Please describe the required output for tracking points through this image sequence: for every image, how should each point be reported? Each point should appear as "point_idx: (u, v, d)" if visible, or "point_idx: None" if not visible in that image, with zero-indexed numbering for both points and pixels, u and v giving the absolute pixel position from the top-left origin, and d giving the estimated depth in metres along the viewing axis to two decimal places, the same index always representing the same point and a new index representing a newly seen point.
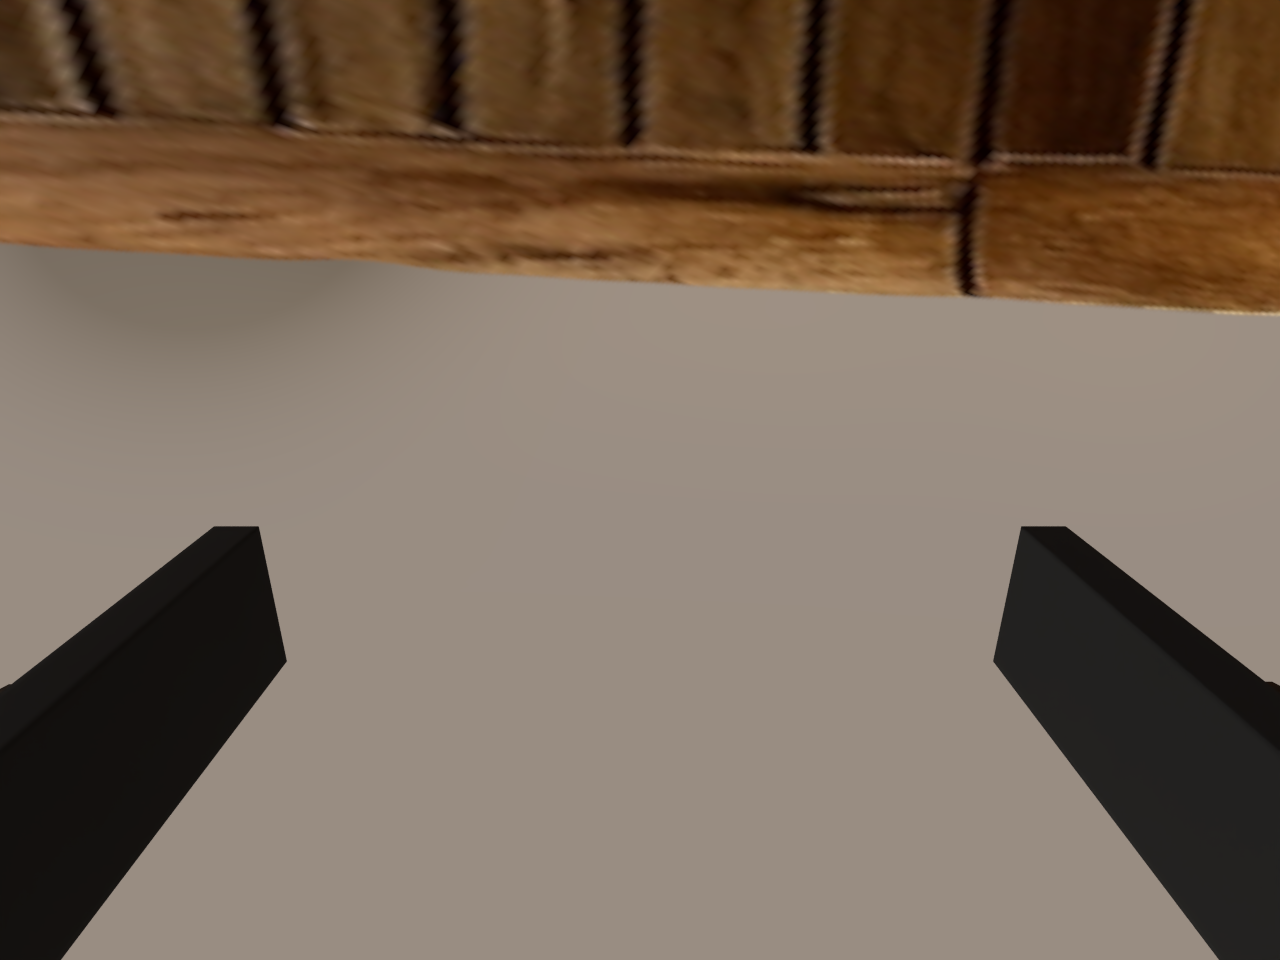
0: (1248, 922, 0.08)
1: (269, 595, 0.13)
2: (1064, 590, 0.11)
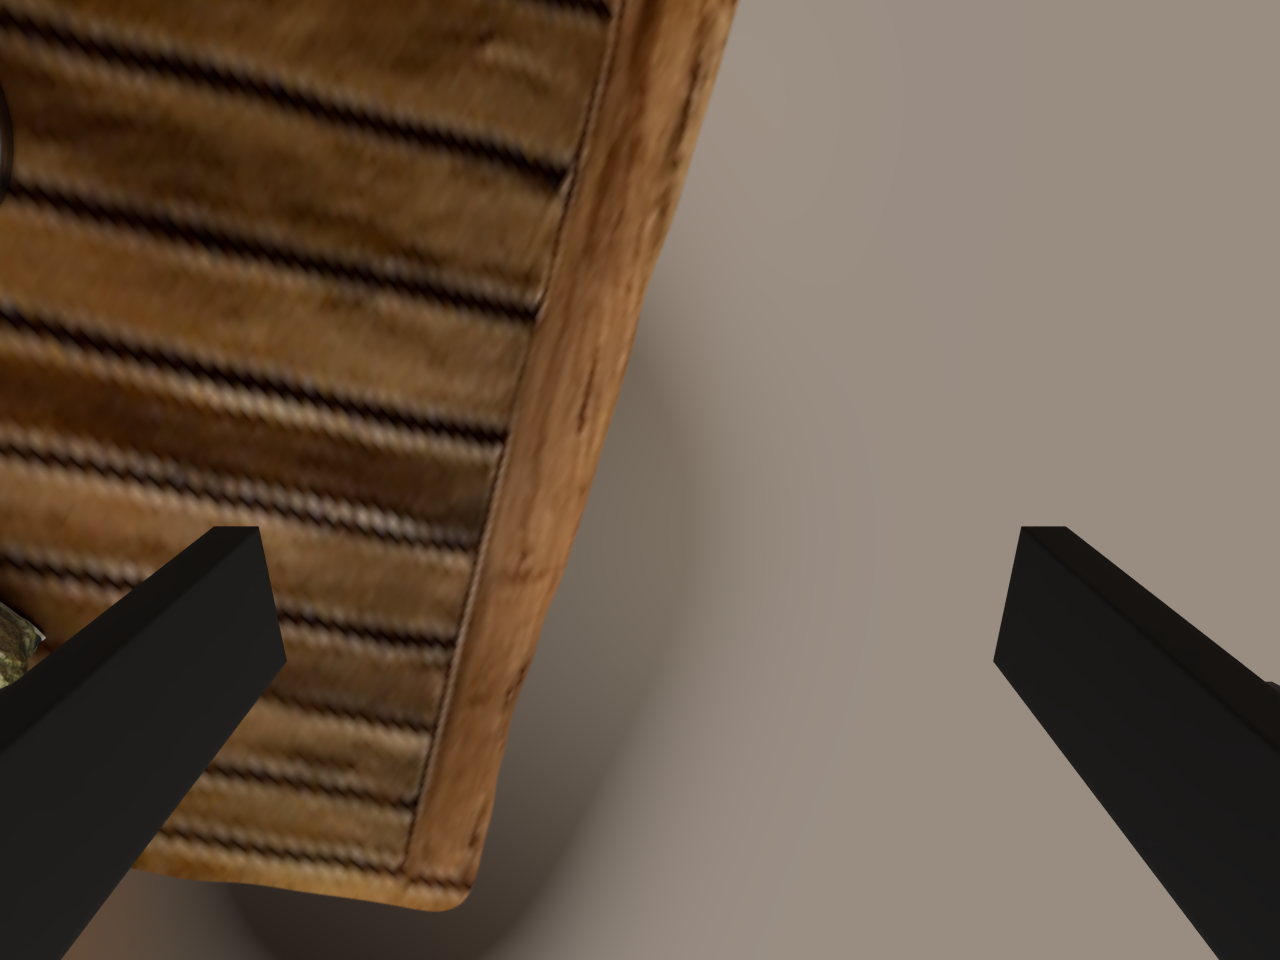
0: (1248, 922, 0.08)
1: (269, 595, 0.13)
2: (1064, 590, 0.11)
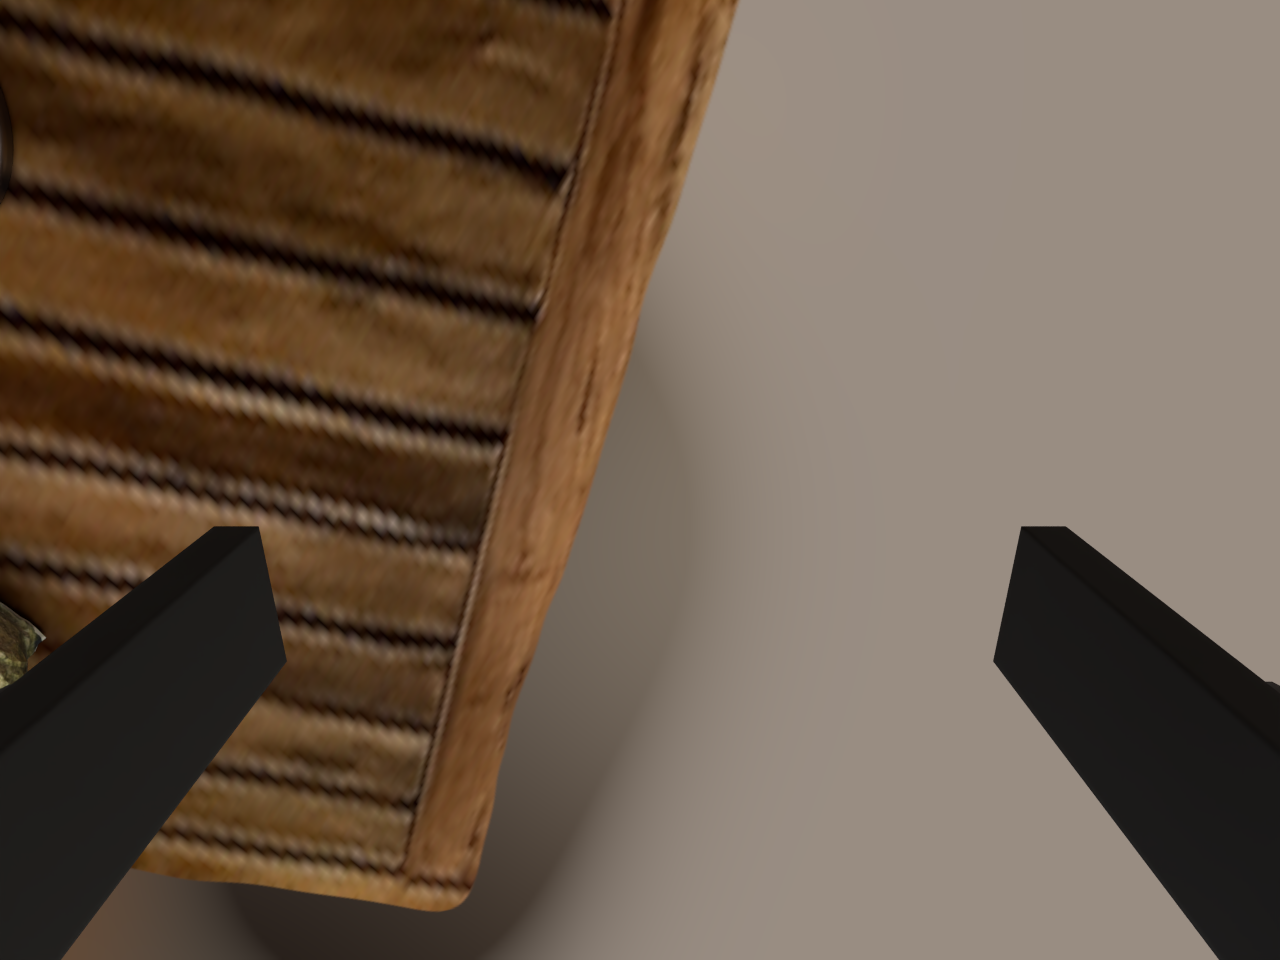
0: (1248, 922, 0.08)
1: (269, 595, 0.13)
2: (1064, 590, 0.11)
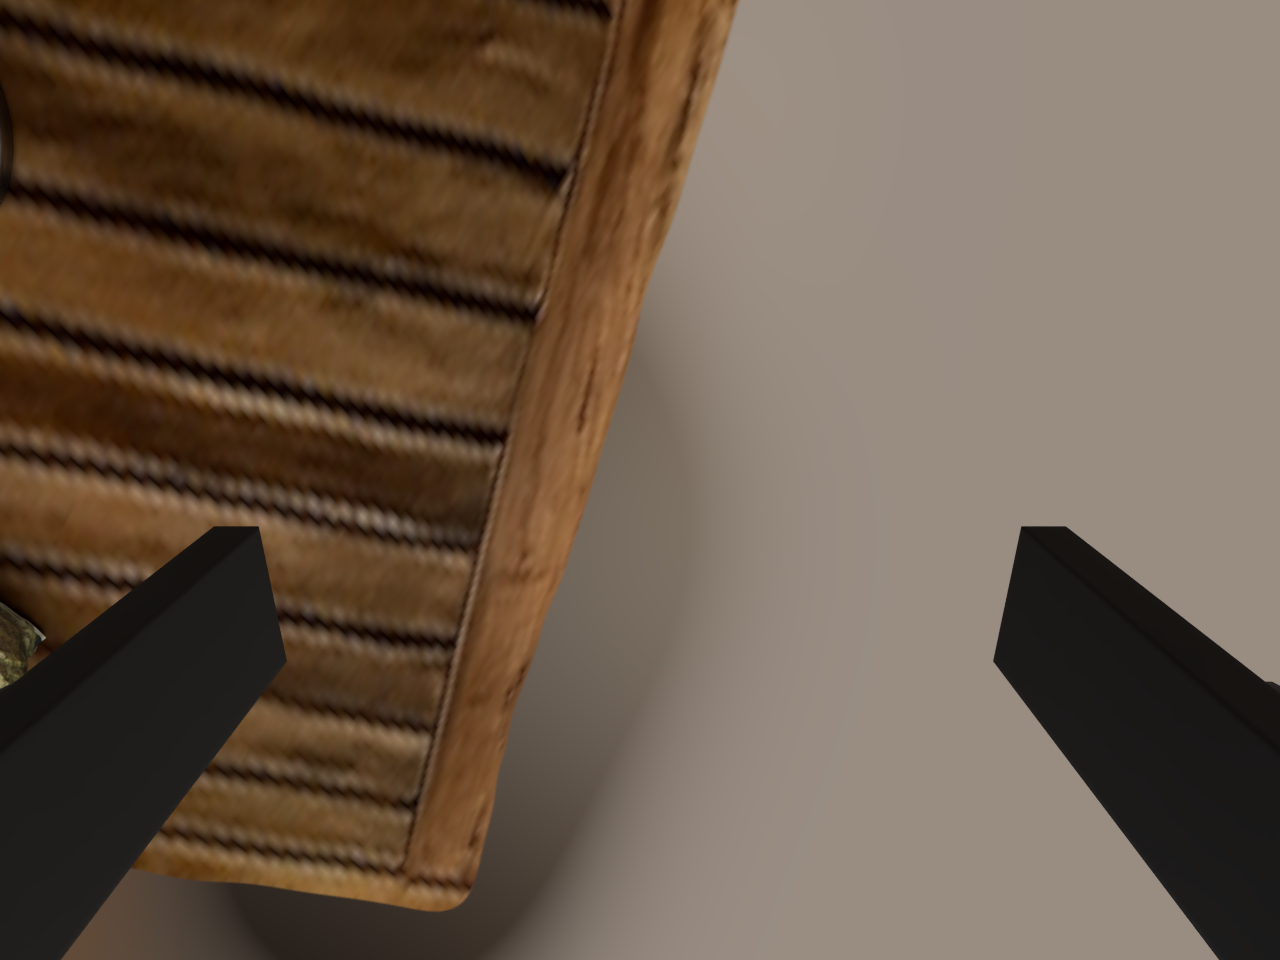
0: (1248, 922, 0.08)
1: (269, 595, 0.13)
2: (1064, 590, 0.11)
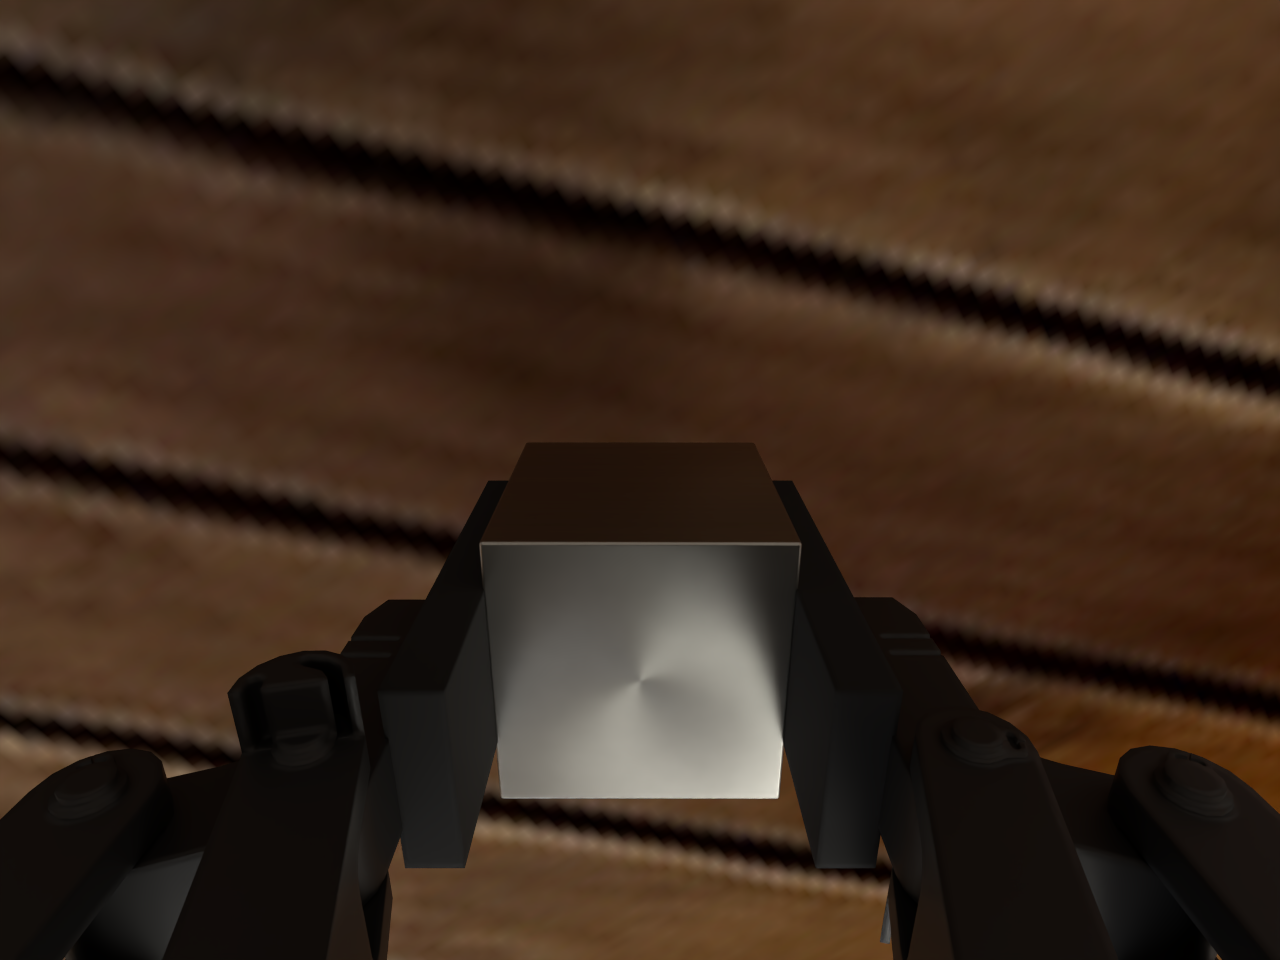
0: (806, 774, 0.10)
1: None
2: None
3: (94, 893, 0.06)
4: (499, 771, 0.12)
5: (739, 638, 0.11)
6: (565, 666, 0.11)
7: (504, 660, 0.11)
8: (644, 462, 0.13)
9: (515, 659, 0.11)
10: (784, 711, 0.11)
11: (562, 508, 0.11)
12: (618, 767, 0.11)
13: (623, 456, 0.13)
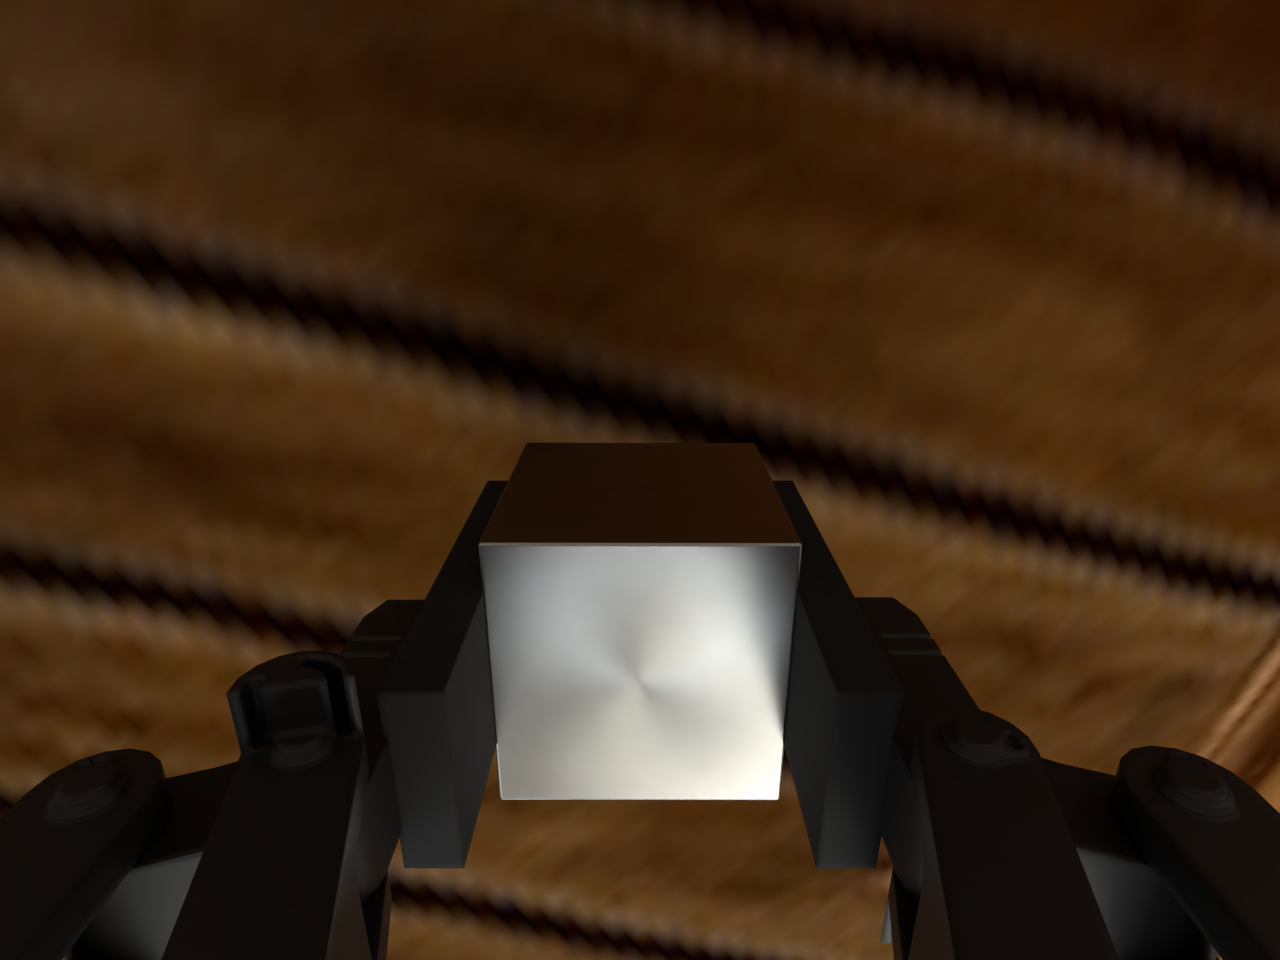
0: (806, 774, 0.10)
1: None
2: None
3: (93, 893, 0.06)
4: (499, 772, 0.11)
5: (739, 639, 0.11)
6: (565, 667, 0.11)
7: (503, 662, 0.11)
8: (644, 462, 0.13)
9: (515, 660, 0.11)
10: (784, 713, 0.11)
11: (562, 508, 0.11)
12: (618, 768, 0.11)
13: (623, 457, 0.13)
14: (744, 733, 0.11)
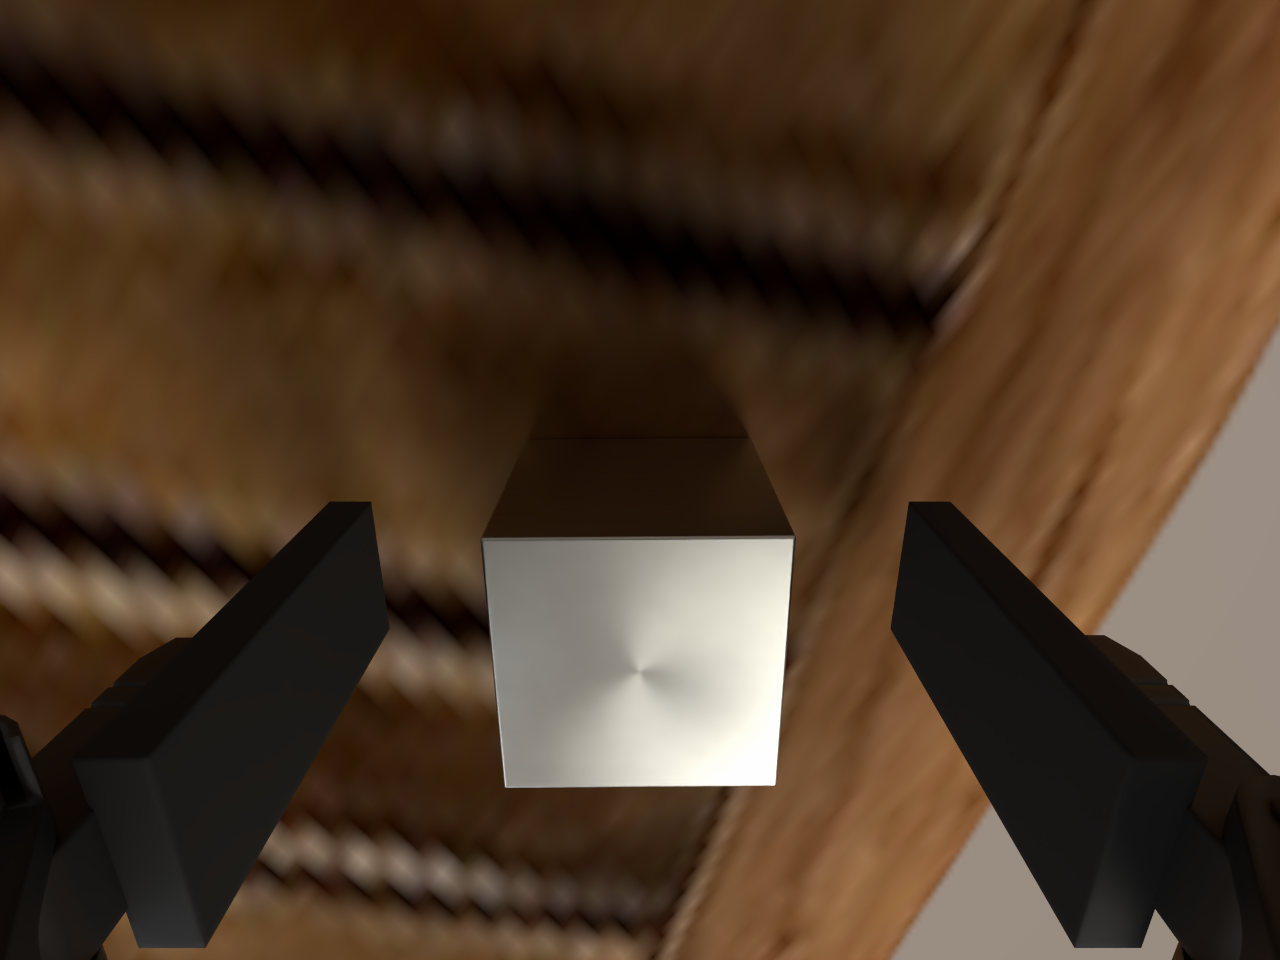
0: (1050, 839, 0.09)
1: (377, 566, 0.14)
2: (936, 558, 0.12)
3: None
4: (503, 761, 0.12)
5: (736, 630, 0.11)
6: (566, 658, 0.11)
7: (506, 653, 0.11)
8: (642, 458, 0.13)
9: (518, 652, 0.11)
10: (780, 701, 0.11)
11: (561, 504, 0.11)
12: (619, 756, 0.12)
13: (621, 452, 0.14)
14: (741, 721, 0.12)
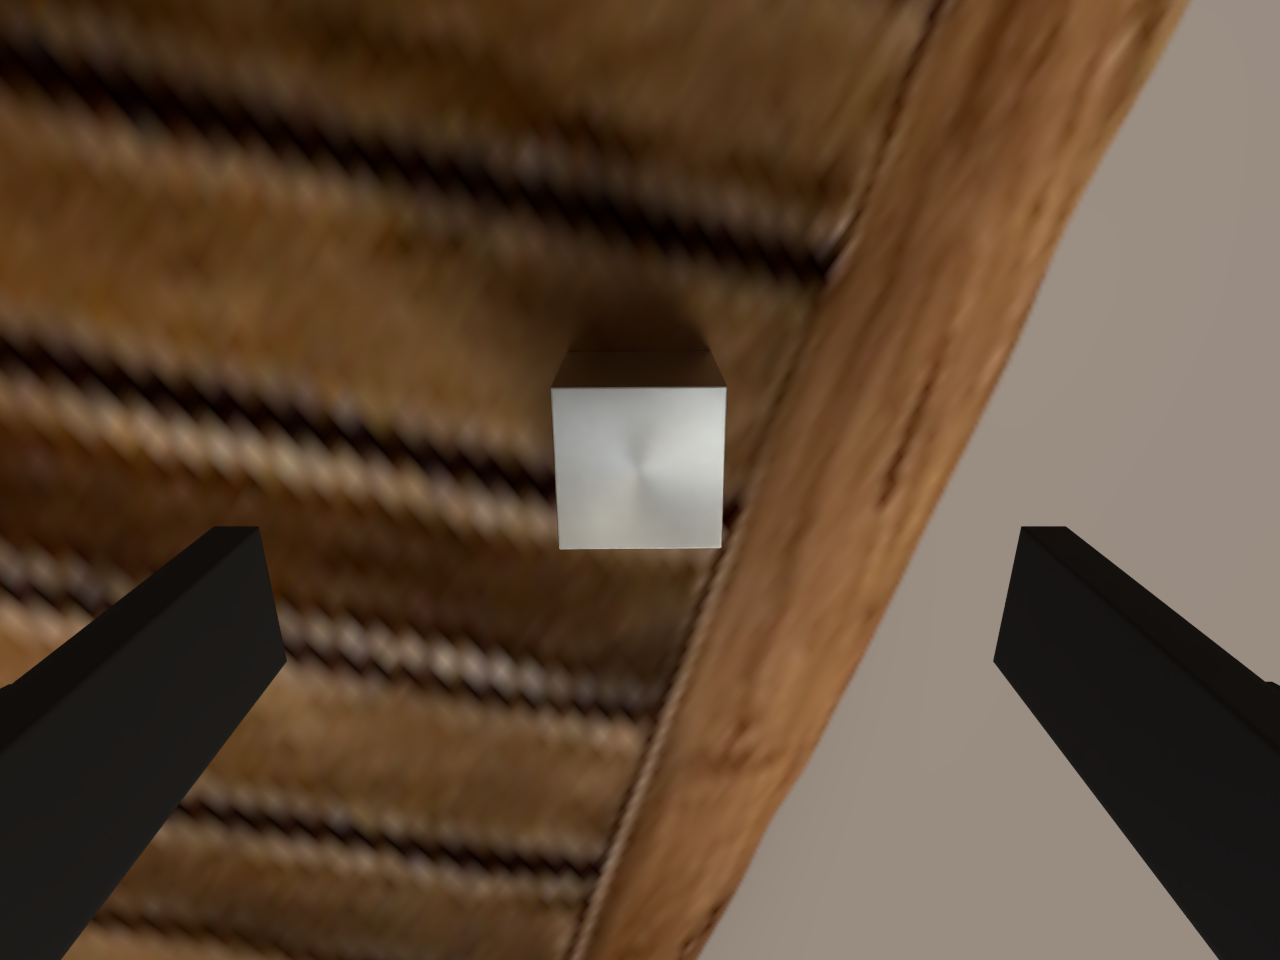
0: (1248, 922, 0.08)
1: (269, 594, 0.13)
2: (1064, 590, 0.11)
3: None
4: (558, 531, 0.20)
5: (695, 444, 0.19)
6: (597, 463, 0.19)
7: (562, 459, 0.19)
8: (641, 358, 0.22)
9: (569, 458, 0.19)
10: (722, 490, 0.19)
11: (594, 376, 0.20)
12: (627, 527, 0.20)
13: (628, 357, 0.22)
14: (699, 504, 0.20)
